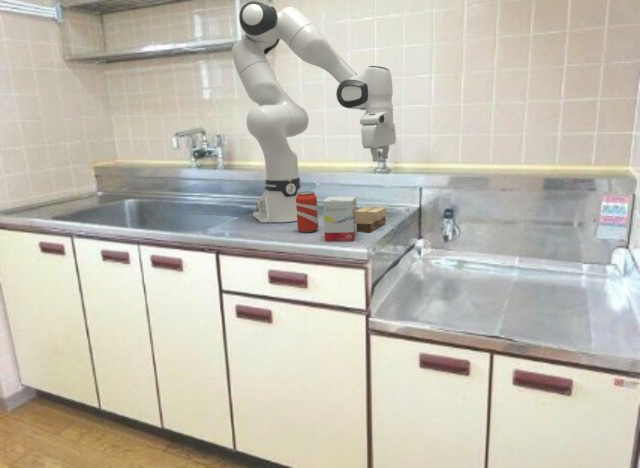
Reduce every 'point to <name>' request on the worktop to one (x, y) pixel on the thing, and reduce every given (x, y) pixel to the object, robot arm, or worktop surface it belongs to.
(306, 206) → the beverage can
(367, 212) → the carton
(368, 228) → the brown u-shaped frame
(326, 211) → the ink box
